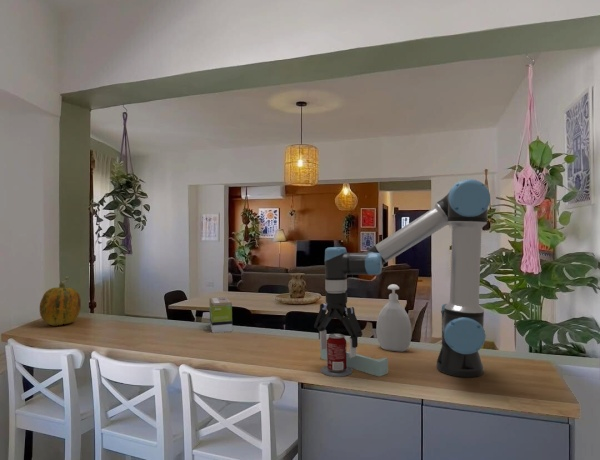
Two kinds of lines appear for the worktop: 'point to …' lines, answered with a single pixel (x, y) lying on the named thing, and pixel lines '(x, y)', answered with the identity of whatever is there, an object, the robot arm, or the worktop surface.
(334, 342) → the soda can
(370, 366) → the divider
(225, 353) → the worktop surface
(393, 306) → the soap bottle
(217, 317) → the tea box
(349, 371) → the coaster
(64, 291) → the pumpkin
